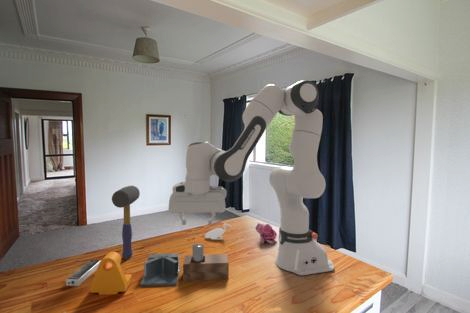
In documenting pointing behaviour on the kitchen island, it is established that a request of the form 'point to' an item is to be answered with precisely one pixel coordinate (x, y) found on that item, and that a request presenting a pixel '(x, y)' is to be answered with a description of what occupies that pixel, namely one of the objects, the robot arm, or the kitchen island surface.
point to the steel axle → (197, 253)
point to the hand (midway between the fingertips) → (197, 224)
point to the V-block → (161, 270)
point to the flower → (266, 233)
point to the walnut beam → (206, 268)
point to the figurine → (216, 232)
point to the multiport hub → (82, 273)
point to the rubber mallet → (126, 215)
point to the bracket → (110, 276)
